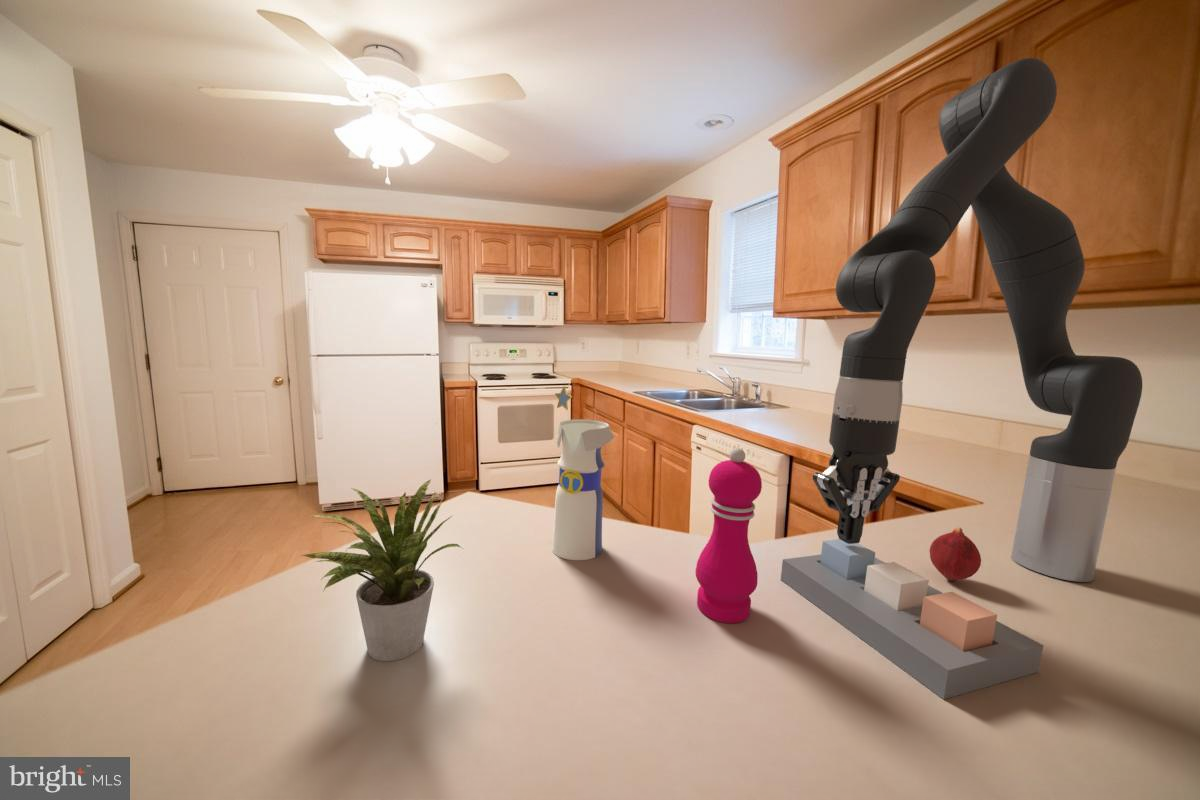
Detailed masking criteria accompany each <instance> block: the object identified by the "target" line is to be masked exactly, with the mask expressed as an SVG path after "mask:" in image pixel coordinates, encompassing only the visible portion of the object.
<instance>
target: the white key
mask: <svg viewBox="0 0 1200 800" xmlns="http://www.w3.org/2000/svg"><path fill="white" fill-rule="evenodd" d="M928 585H929V579H928V578H926V577H925V576H922V575H921V574H919V573H917V572H915V571H913V570H911V569H908V568H907V567H905V566H903V565H901V564H899V563H897V562H895V561H891V562H885V563H883V564H876V565H869V566H867V572H866V580H865V587H864V591H866V592H867V593H869V594H871V595H872V596H874V597H876V598H877V599H879V600H881V601H882V602H884V603H885V604H887V605H889V606H890V607H892V608H894V609H895V610H897V611H903V610H908V609H914V608H919V607H922V606H923V599H924V597H925V596H926V595H927V588H928Z"/></svg>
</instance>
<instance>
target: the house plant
mask: <svg viewBox="0 0 1200 800" xmlns="http://www.w3.org/2000/svg"><path fill="white" fill-rule="evenodd" d="M431 481H432V479H429V480H427V481H425V482H424V483H422V485H421V486H420V487H419V488H418V489H417V490H416V492H415V493H414V495H413V496H412V497H411V499H410V500H409V502H408V503H407V505H406V502H407V501H406V500H407V498H406V492H404V493H403V494H402V496H401V497H400V501H399V505H398V506H397V508H396V512H395V514H394V524H393V531H392V526H391V522H390V519H389V514H388V511H387V508H386V506H385V505H384V504H383V503H382V502H381V501H380V500H378V499H376V498H373V499H372V498H371V497H369V495H367V494H366V493H364V492H362V491H360V490H359V489H356V488H353V487H351V490H353V491H354V492H356V493H357V494H358V496H359V497H360V498H361V499H362V500H363V502H364V503H363V504H362V503H361V506H362V507H363V508H364V509H365V510H366V511H367V512H368V515H369V517H370V519H371V522H372V524H373V525H374V527H375V529H376V531H377V533H378V536H379V538H380V540H381V542H382V545H381V543H380V542H379V541H378V540H377V539H376V538H375V536H373V534H371V533H370V532H369V531H368V530H367V529H365V527H363V526H362V525H360V524H358V523H357V522H355V521H354V520H352V519H349V518H347V517H344V516H342V515H341V516H340V515H335V514H334V515H333V514H307V515H306V514H305V515H304V516H305V517H306V516H307V517H318V518H319V517H320V518H321V517H322V518H328V519H335V520H338V521H342V522H344V523H341V522H337V521H326V522H325V521H324V522H323V524H327V523H328V524H329V523H330V524H331V523H332V524H338V525H341V526H345V527H346V528H348V529H350V530H352V531H353V532H351V531H348V530H340V531H339V533H351V534H354V536H355V537H357V538H358V539H360V540H361V541H359V542H355V543H353V544H351V545H350V546H349V547H347V548H346V550H345V551H347V550H348V549H359V550H363V551H366V552H367V554H364V553H362V554H361V553H355V552H343V551H341V552H340V551H322V552H321V551H320V552H314V553H307V554H303V555H301V557H306V558H310V559H320V560H315V561H314V562H316V563H317V562H320V563H321V562H327V563H328V562H329V563H334V564H337V565H338V566H336V567H334V568H332V569H330V570H329V571H328V572H327V573H326V574H324V575H323V576H322V578H321V579H320V581H322V579H324V578H326V577H329V576H332V577H330V579H329V580H327V583H326V584H325V586H324V589H323V591H322V592H324V591H325V590H326V588H329V587H331V586H333V585H335V584H337V583H339V582H342V581H343V580H345V579H347V578H350V577H351V576H354V575H359V576H361V577H362V578H365V579H366V580H364V581H363V582H362V583H361V584H360V585H359V587H358V588H357V589H356V594H355V598H356V602H357V606H358V611H359V616H360V620H361V621H360V622H361V626H362V629H363V634H364V635H363V636H364V639H365V645H366V648H367V653H368V656H370V658H372V659H373V660H375V661H376V660H377V661H379V662H394V661H398V660H402V659H405V658H407V657H409V656H412V655H413V654H415V653H416V652H417V651H418V650H419V649H420V648H421V646H423V643H424V638H425V634H426V633H425V632H426V627H427V623H428V616H429V612H430V606H431V601H432V597H433V591H434V585H435V581H434V577H433V576H432V575H431V574H430V573H429V572H426V571H425V570H421V569H420V568H421V567H422V566H423V564H424V563H425V562H426V561H427V560H428V559H429V558H430V557H431V556H432V555H435V554H436V553H437V552H440V551H442V550H444V549H446V548H451V547H452V548H453V547H458V548H461V549H462V550H464V549H463V547H462V546H461V545H459V544H458V543H448V544H446V545H443V546H441V547H438V548H437V549H435V550H433V551H432V552H430V553H429V554H428V555H427V556H426V557H425V558H424V559H423V561H422V562H421V563H420V564H419V566H418V568H417V564H418V562H419V560H420V558H421V556H422V554H423V553H424V551H425V549H426V548H427V546H428V541H429V539H430V538H432V537H433V536H434V534H435V533H436V532H437V531H438V530H440V528H441V527H442V525H443V524H444V523H446V522H447V521H448V520H450V519H451V518H452V517H453V516H454V514H452V515H451V516H449V517H447V518H446V519H445V520H444V521H441V523H439V524H438V526H437V525H436V527H435V528H434V529H433V530H432V531H431V532H430V533H428V535H427V532H428V530H429V529H430V527H431V525H432V524H433V523H434V520H435V519H436V517H437V514H438V513H439V509H440V508H441V505H442V504H443V500H444V497H443V498H442V499H441V500H440V501H439V503H438V505H437V506H436V508H435V509H434V510H433V512H432V514H431V515H430V518H429V519H428V521H427V524H425V521H426V519H427V517H428V515H429V513H430V511H431V508H432V506H433V503H434V499H435V495H436V491H434V492H433V494H432V496H431V497H430V499H429V501H428V503H427V504H426V505H425V509H424V511H423V513H422V516H421V518H420V520H419V522H418V525H417V526H416V530H415V524H416V521H417V517H418V513H419V512H420V511H419V510H420V507H421V505H422V502H423V500H424V498H425V495H426V492H427V490H429V487H428V486H429V484H430V483H431ZM373 500H374V501H375V502H376V503H377V504H378V506H379V509H380V512H381V514H382V515H380V514H379V511H378V509H377V506H376V504H375V503H374V501H373ZM345 522H346V523H347V524H350V525H352V526H354V527H355V529H356V530H357V532H358V533H357V532H355V531H354V530H353V529H352V528H351V527H350V526H348V525H346V524H345ZM424 524H425V527H424V528H423V526H424ZM422 528H423V530H422ZM426 535H427V536H426ZM364 573H365V574H367V575H369V576H371V577H369V576H367V575H365V574H364Z"/></svg>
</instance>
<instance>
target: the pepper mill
mask: <svg viewBox="0 0 1200 800" xmlns="http://www.w3.org/2000/svg"><path fill="white" fill-rule="evenodd" d="M729 458H730V459H728V460H726V459H725V460H723V461H720V462H719V463H717V464H715V466H713V468H712V469H711V471H710V473H709V477H708V488H709V489H710V492H711V493H712V495H713V497H712V498H711V500H710V502H711V506H710V508H709V509H710V511H711V512H712V513H713V528H712V532H711V535H710V538H709V540H708V542H707V543H706V544H705V546H704V547H703V549H702V551H701V552H700V555H699V557H698V559H697V562H696V566H695V578H696V581H697V582H698V583H699V585H700V586H699V588H698V589H697V597H696V604H697V607H698V609H699V610H700V612H701V613H702V614H704V615H705V616H706V617H708V618H710V619H712V620H714V621H717V622H722V623H726V624H738V623H742V622H744V621H746V620H747V619H749V617H750V614H751V607H752V606H751V605H752V600H751V597H750V596H751V595H752V594H753V593H754V592H755V590H756V588H757V587H758V577H759V576H758V575H759V574H758V570H757V565H756V561H755V559H754V555H753V553H752V551H751V546H750V544H749V536H748V535H749V525H750V524H749V523H750V520H752V519H753V518H754V517H755V509H756V505H755V503H754V501H755V500H756V499H758V497H759V496H760V495H761V493H762V489H763V483H762V478H761V474H760V473H759V471H758V469H757V468H756V467H754V466H753V464H750V463H748V462H745V460H746V453H745V451H744V450H743V449H742V448H740V447H735V448H732V449H731V450H730V452H729Z"/></svg>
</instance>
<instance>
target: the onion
mask: <svg viewBox="0 0 1200 800" xmlns="http://www.w3.org/2000/svg"><path fill="white" fill-rule="evenodd" d="M929 547H930V548H929V557H930V558H929V559H930V561H931V563H932V565H933V567H934V568H935V569H936V570H937V571H938V572H939V573H940V575H942V576H943V577H944V578H945V579H946V580H947V581H950V582H956V581H959V580H966V579H969V578H971V577H972V576H974V575H975V574H976V573H977V572H979V569H980V568H981V566H982V565H981V564H982V557H981V553H980V551H979V549H978V547H977V546H976V544H975V542H973V540H972V539H970V538H969V537H968V536H966V534H965V533H964V532H963V529H962V527H960V526H956V527H955V526H954V528H953V531H951V532H947V533H944V534H942V535H939V536H938V537H936V538H935V539H934V540H933V541H932V543H931V544H930V546H929Z"/></svg>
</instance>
